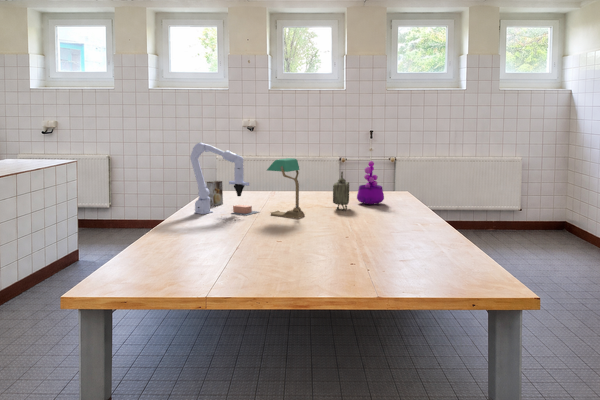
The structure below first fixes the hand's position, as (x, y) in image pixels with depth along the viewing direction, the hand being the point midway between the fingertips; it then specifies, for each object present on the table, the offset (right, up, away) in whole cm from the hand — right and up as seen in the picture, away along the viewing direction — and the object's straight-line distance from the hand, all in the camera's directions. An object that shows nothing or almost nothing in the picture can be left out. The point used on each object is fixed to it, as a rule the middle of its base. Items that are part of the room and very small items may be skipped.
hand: (239, 196), depth 359 cm
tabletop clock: (+66, -9, +15) cm, 68 cm away
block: (-2, -8, +2) cm, 8 cm away
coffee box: (-20, -6, +31) cm, 37 cm away
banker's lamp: (+30, -12, -9) cm, 34 cm away
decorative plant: (+88, -5, +36) cm, 95 cm away
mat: (+4, -11, -1) cm, 11 cm away
